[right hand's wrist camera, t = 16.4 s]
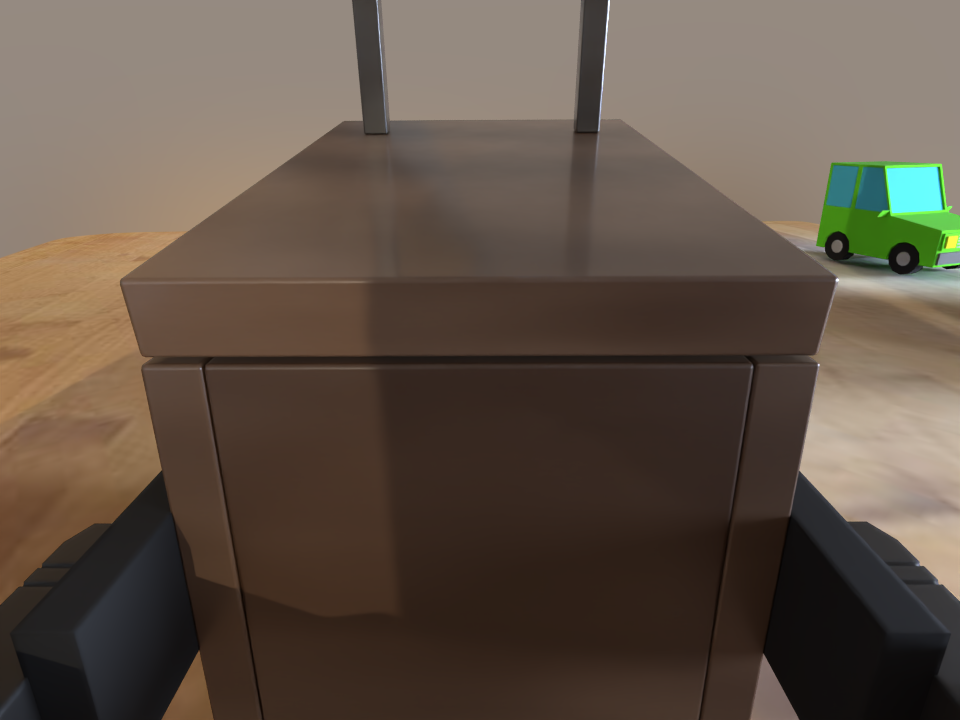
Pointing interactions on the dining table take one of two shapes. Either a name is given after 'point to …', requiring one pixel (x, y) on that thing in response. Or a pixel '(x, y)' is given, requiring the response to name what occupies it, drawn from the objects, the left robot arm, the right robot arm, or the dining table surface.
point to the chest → (481, 530)
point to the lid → (480, 245)
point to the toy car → (890, 215)
